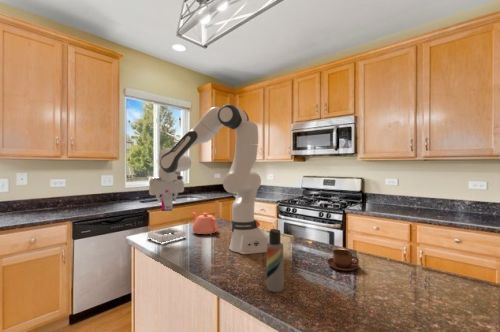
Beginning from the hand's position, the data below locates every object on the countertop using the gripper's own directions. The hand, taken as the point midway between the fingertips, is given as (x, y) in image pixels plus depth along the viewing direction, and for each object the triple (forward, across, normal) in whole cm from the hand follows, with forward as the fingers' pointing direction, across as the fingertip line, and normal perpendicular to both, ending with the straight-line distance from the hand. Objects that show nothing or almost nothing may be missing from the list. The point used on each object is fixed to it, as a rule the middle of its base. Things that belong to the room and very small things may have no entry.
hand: (167, 201), depth 145 cm
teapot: (+22, +24, -4) cm, 32 cm away
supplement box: (+5, 0, 0) cm, 5 cm away
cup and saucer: (+21, +26, -90) cm, 96 cm away
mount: (+22, +1, +2) cm, 22 cm away
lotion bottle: (+21, -7, -79) cm, 82 cm away
